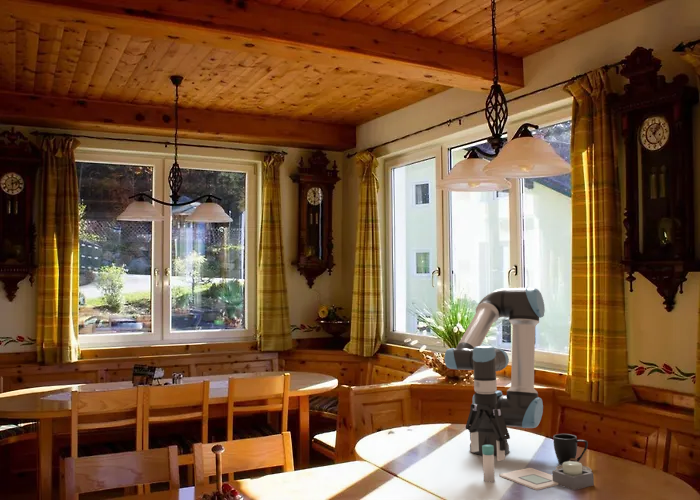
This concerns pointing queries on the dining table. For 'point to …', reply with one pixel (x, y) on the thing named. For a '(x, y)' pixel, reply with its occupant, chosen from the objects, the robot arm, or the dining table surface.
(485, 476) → the marker
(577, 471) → the button
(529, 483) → the sheet
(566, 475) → the button housing
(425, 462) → the dining table surface
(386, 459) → the dining table surface
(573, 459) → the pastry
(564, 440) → the mug
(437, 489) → the dining table surface
